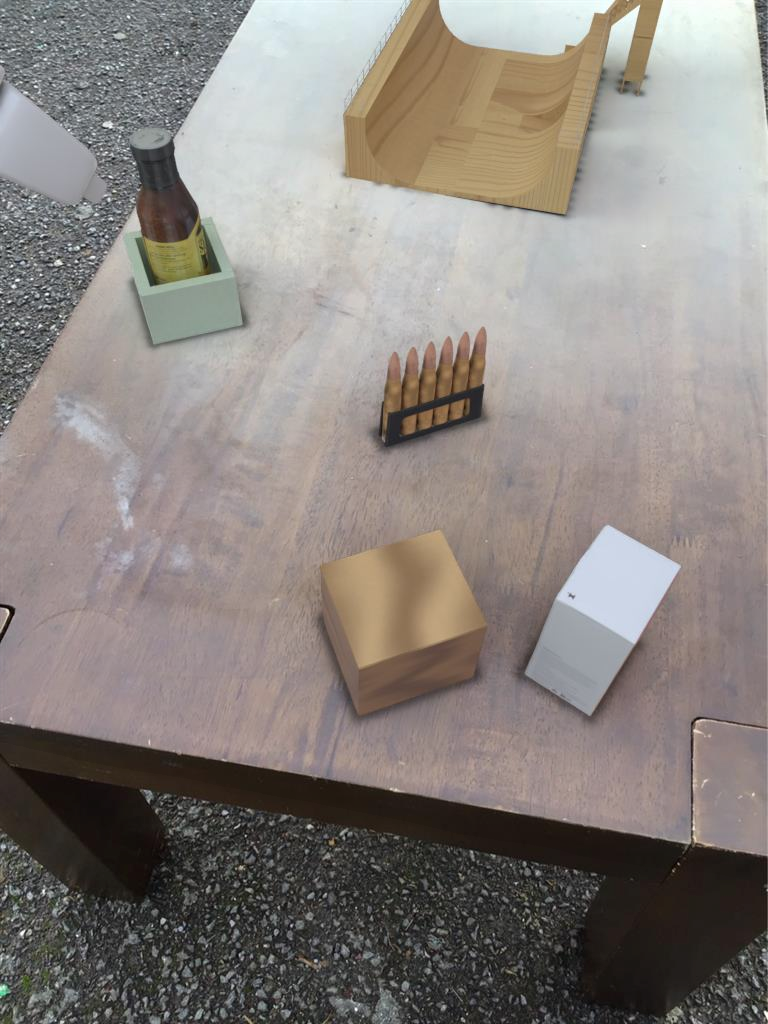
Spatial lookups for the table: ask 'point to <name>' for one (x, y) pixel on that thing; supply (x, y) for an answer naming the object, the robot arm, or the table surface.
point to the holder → (187, 292)
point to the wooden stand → (401, 621)
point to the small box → (600, 618)
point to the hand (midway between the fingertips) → (60, 169)
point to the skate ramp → (482, 110)
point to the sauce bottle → (167, 211)
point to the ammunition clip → (433, 390)
